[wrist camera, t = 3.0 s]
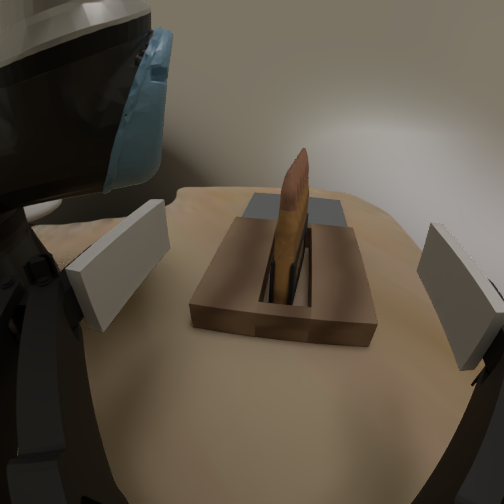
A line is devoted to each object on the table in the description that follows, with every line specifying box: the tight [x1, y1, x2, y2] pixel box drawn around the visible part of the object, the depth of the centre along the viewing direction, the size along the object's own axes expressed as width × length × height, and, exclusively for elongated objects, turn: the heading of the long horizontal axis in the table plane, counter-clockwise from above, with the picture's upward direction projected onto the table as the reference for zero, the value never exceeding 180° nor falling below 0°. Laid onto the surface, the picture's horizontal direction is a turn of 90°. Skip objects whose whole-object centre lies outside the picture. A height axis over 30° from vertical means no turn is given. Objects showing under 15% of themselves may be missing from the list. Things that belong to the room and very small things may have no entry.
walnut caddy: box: [189, 217, 378, 346], centre depth 27 cm, size 14×16×2 cm
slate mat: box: [242, 193, 347, 227], centre depth 40 cm, size 14×13×1 cm
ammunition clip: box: [268, 148, 309, 305], centre depth 25 cm, size 11×2×12 cm, turn 164°
